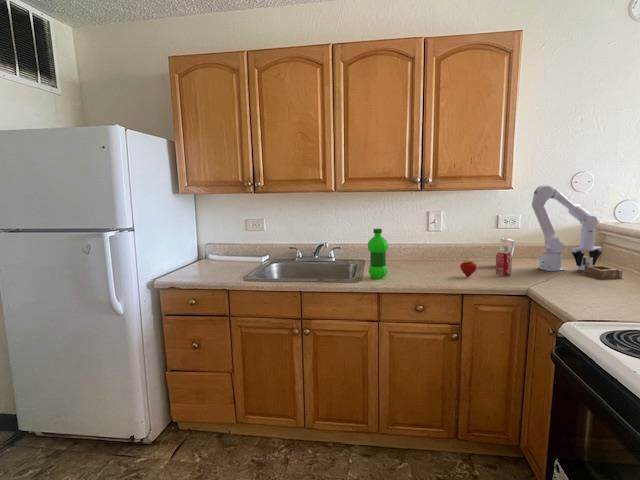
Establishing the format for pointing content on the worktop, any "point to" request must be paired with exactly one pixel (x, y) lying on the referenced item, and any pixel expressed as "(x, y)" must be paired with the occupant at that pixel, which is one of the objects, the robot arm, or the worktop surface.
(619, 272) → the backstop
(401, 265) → the worktop surface
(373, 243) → the plastic bottle
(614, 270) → the square wooden frame
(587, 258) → the grey rectangular block
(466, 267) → the strawberry
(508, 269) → the soda can
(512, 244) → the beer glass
